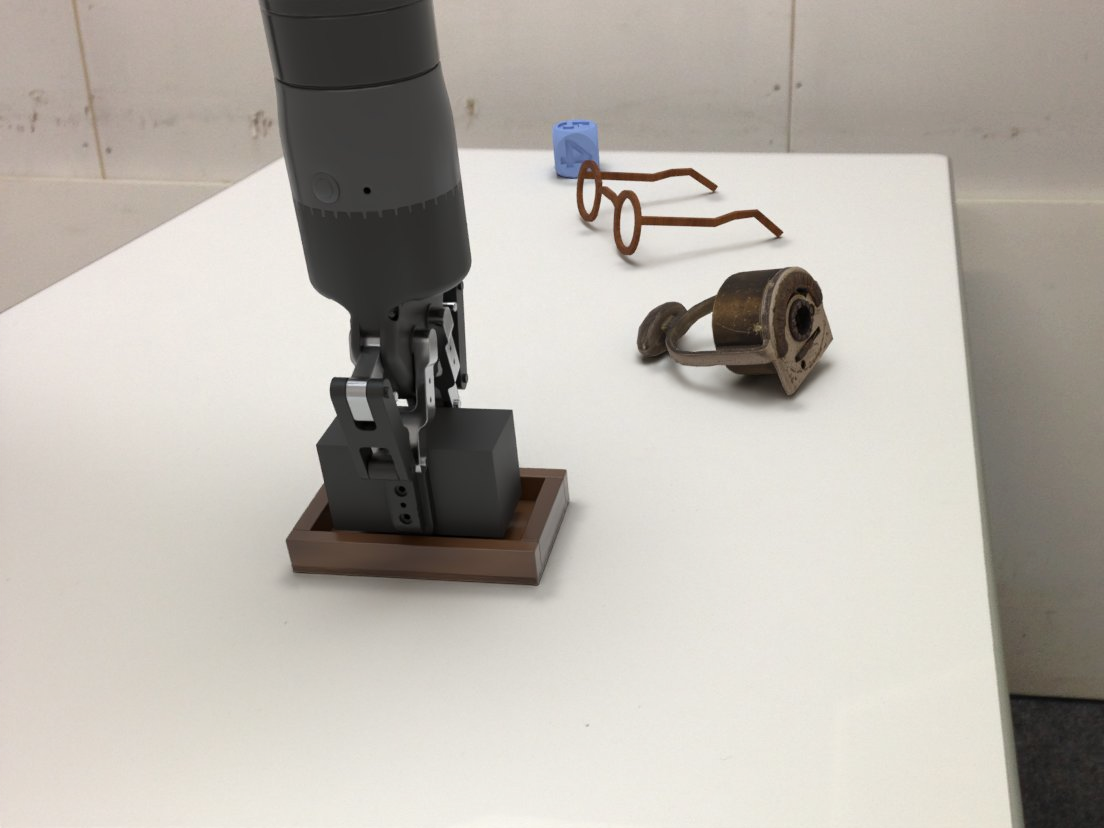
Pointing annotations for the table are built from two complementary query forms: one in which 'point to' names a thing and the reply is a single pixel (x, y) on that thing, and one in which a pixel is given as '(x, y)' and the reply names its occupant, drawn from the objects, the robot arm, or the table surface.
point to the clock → (436, 475)
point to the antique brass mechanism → (749, 326)
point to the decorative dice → (574, 146)
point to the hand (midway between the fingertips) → (430, 504)
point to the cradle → (439, 542)
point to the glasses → (633, 198)
